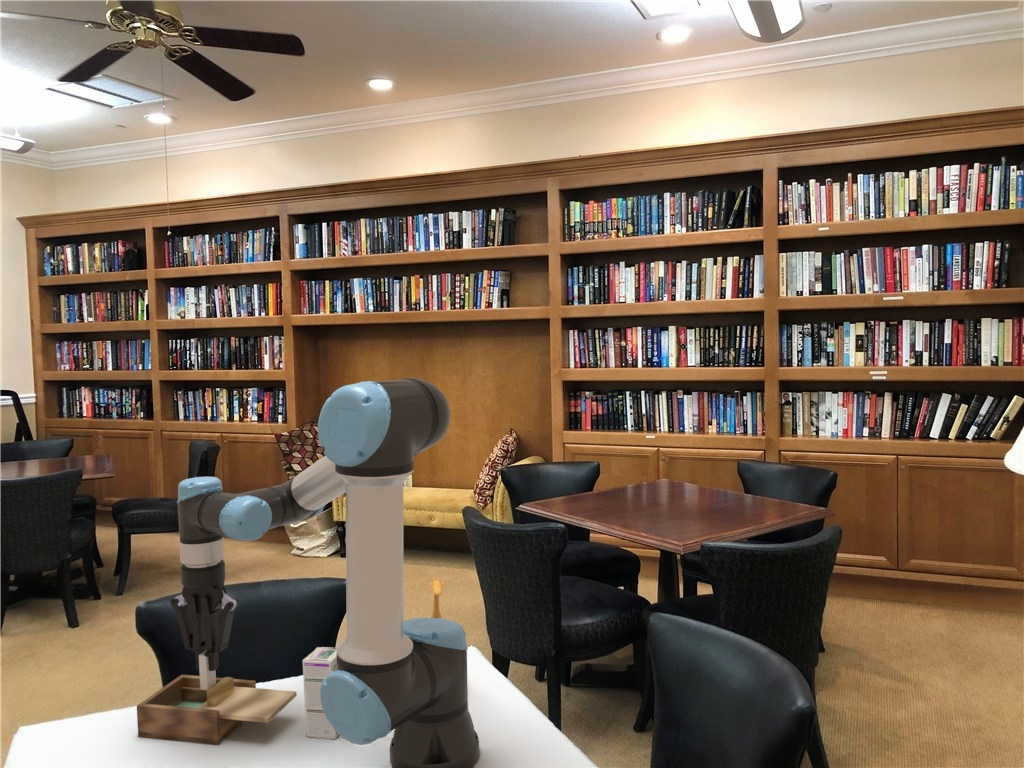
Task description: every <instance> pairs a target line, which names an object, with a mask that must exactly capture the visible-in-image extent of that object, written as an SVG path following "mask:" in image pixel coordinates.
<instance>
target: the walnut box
mask: <svg viewBox="0 0 1024 768" xmlns="http://www.w3.org/2000/svg"><path fill="white" fill-rule="evenodd" d="M224 678H225V677H216V684H217V683H218V682H220V681H221V680H222V679H224ZM216 684H215V685H216ZM233 685H234V686H237V687H248V688H257V687H256V685H257V684H256V680H249V679H239V678H236V679H235V678H233ZM212 687H213V686H212ZM212 687H211V688H212ZM208 690H209V689H208ZM208 690H200V675H190V674H181V675H179V676H177V677H176V678H175V679H173V680H171V681H170V682H169V683H167V684H166V685H164V686H163V687H162V688H160V689H159V690H157V691H156V692H155V693H153V694H151V695H150V696H148V698H146V699H145V700H143V701H141V702H140V703H138V704H137V705H136V719H137V720H136V721H137V722H136V723H137V737H138V738H146V739H157V740H166V741H176V742H184V743H194V744H195V743H196V744H203V745H214V746H218V745H219V744H220V743H222V742H224V740H225V739H227V737H229V736H230V735H231V734H232V733H233V732H234V731H235V730H236V729H237V728H239V726H241V725H242V724H243V723H244V722H245V721H243V720H232V719H222V718H220V711H219V710H209V709H198V707H199V706H201V705H202V704H203V703H205V702H206V701H207V691H208Z"/></svg>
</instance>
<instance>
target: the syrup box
mask: <svg viewBox="0 0 1024 768" xmlns="http://www.w3.org/2000/svg"><path fill="white" fill-rule="evenodd" d="M336 651H337V647H335V646H334V647H332V646H331V647H330V646H321V647H320V646H317V647H316V648H315V649H314V650H313V651H312V652H310V653H309V654H308V655H307V656H305V657H304V658H303V659H302V679H303V692H304V693H303V695H304V698H303V699H304V712H305V715H304V716H305V728H306V729H305V732H306V737H309V738H315V739H326V740H336V739H337V737H338V736H340V735H339V734H338V733H337V732H336V731H335V730H334V728H333V727H332V725H331V724H330V723H329V721H328V720H327V718H326V716H325V713H324V711H323V708H322V704H321V698H320V689H321V685H322V682H323V680H324V679H326V677H327V676H328V674H329V673H330V672H332V671H336V668H337V661H336V659H337V652H336Z"/></svg>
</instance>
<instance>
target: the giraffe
mask: <svg viewBox="0 0 1024 768" xmlns="http://www.w3.org/2000/svg"><path fill="white" fill-rule="evenodd" d="M439 578H440V577H439V576H437V579H436V578H435V576H433V579H432V580H433V581H432V582H428V585H429V586H430V587H431V589H432V591H433V607H432V608H433V609H432V612H431V614H430V615H428V616H427V618H441V619H443V617H442V614H441V609H440V601H439V599H440V597H439V596H441V595H442V594H443V592H442V591H443V589H442V588H443V586H444V585H445V581H441V582H440V579H439Z"/></svg>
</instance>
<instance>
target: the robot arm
mask: <svg viewBox="0 0 1024 768" xmlns="http://www.w3.org/2000/svg"><path fill="white" fill-rule="evenodd" d="M450 423H451V408H450V404H449V401H448V399H447V397H446V396H445V394H444V392H443V391H442V390H441V389H440V388H439V387H438V386H436V385H435V384H434V383H432V382H431V381H428V380H427V379H426V380H425V379H422V378H418V377H417V378H415V377H410V378H409V377H408V378H401V379H388V380H373V381H369V380H368V381H360V382H357V383H353V384H347V385H346V384H345V385H344V386H341V387H339V388H337V389H336V390H334V391H333V392H332V394H331V395H330V397H328V398H327V399H326V400H325V402H324V404H323V406H322V408H321V410H320V413H319V417H318V423H317V435H318V436H317V438H318V441H319V445H320V447H321V448H323V449H324V451H323V454H324V455H325V456H323V457H321V458H320V459H318V460H317V461H316V462H315V463H313V464H311V465H310V466H308V467H307V468H305V469H304V470H303V471H301V472H299V473H298V474H297V475H296V476H294V477H293V478H291V479H289V480H288V481H286V482H284V483H282V484H278V485H274V486H269V487H265V488H260V489H254V490H250V491H245V492H241V493H230V492H229V493H228V492H225V491H224V492H223V485H222V480H221V479H220V478H218V477H215V476H195V477H191V478H186V479H183V480H181V481H180V482H179V483H178V486H177V501H176V504H177V515H178V533H179V560H180V563H181V564H182V565H181V566H180V576H181V577H180V578H181V580H180V581H181V585H182V586H183V587H182V589H181V594H179V595H177V596H176V597H173V598H171V599H170V601H169V602H170V605H171V606H172V608H173V610H174V611H175V615H176V619H177V623H178V626H179V631H180V635H181V637H182V642H183V645H184V649H185V650H186V651H189V650H191V651H193V653H194V654H195V656H194V657H195V668H196V670H197V671H199V676H200V690H208V689H210V688H211V687H212V686H214V685H215V684H216V678H217V675H216V670H217V669H218V668H219V667H220V664H219V663H220V661H219V660H220V659H219V653H221V652H222V651H223V650H224V649H226V648H227V647H229V641H230V638H231V637H230V636H231V631H232V627H233V625H232V624H233V621H234V615H235V610H236V609H237V607H238V605H239V603H240V600H239V598H232V597H231V596H229V595H228V591H227V588H226V586H225V581H226V564H225V560H223V559H224V558H225V543H224V542H225V540H224V539H225V538H224V537H226V538H229V539H232V540H234V541H235V540H237V541H248V542H249V541H250V542H251V541H257V540H259V539H260V538H262V537H263V536H264V535H265V534H266V533H267V532H268V531H269V530H272V529H275V528H278V527H283V526H285V525H289V524H293V523H297V522H303V521H304V522H305V521H307V520H309V519H312V518H314V517H317V516H319V515H320V514H322V513H323V511H324V508H325V507H326V505H327V504H328V503H330V502H332V501H334V500H335V499H337V498H338V497H340V496H342V495H344V494H345V554H346V555H345V566H346V567H345V573H346V575H345V576H346V577H345V582H346V583H345V585H346V586H345V587H346V589H345V590H346V592H345V593H346V596H345V597H346V600H345V601H346V605H345V606H346V611H345V613H346V637H344V638H343V639H342V640H341V641H340V642H339V643H338V645H337V646H336V648H337V651H336V652H337V659H336V661H337V668H336V671H332V672H330V673H329V674H328V676H327V677H326V679H324V680H323V682H322V685H321V689H320V698H321V704H322V708H323V711H324V713H325V716H326V718H327V720H328V721H329V723H330V724H331V725H332V727H333V728H334V730H335V731H336V732H337V733H338V734H339V735H338V736H340V737H342V738H343V739H344V740H345V741H347V742H349V743H352V744H355V745H361V746H364V745H369V744H372V743H373V742H375V741H377V740H379V739H381V738H382V739H383V738H385V737H386V736H388V734H390V733H391V732H392V731H393V730H394V732H393V736H392V738H391V741H390V745H389V763H390V765H391V767H392V768H472V767H473V766H475V764H476V763H477V762H478V760H479V758H480V739H479V736H478V733H477V732H476V730H475V726H474V722H473V719H472V717H471V714H470V711H469V710H470V709H469V701H468V698H469V695H468V694H469V693H468V692H469V691H468V689H469V687H468V648H469V647H468V645H467V636H466V631H465V628H464V627H463V626H462V625H461V624H460V623H458V622H456V621H454V620H450V619H445V618H442V619H441V618H428V617H417V618H416V617H414V618H410V619H406V620H404V483H405V481H406V480H407V479H408V478H410V476H411V474H413V473H414V471H415V469H414V468H415V467H414V466H415V465H414V461H415V459H414V458H415V457H416V456H418V455H419V454H421V453H423V452H424V451H426V450H428V449H431V448H432V447H434V446H436V445H438V443H439V442H441V440H442V439H443V438H444V437H445V435H446V434H447V432H448V430H449V427H450ZM220 607H221V608H220ZM220 609H222V610H221V614H220ZM219 614H220V619H219Z"/></svg>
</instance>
